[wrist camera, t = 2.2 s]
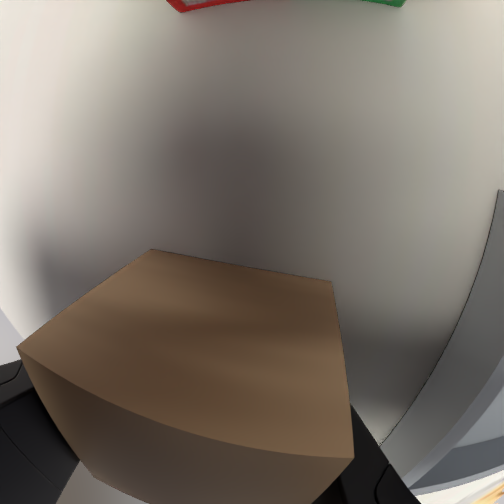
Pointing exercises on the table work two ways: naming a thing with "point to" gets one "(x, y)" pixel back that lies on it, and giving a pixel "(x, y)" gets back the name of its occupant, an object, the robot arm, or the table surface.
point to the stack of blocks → (182, 3)
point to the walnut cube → (199, 382)
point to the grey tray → (461, 392)
